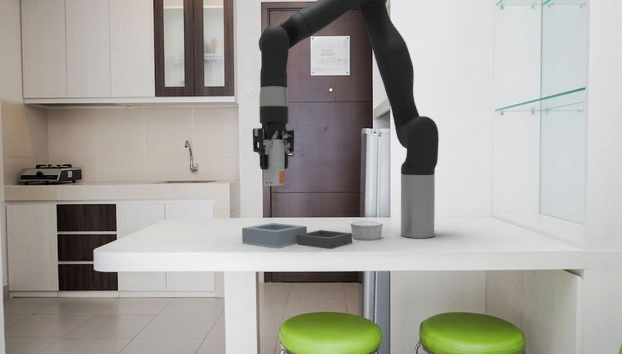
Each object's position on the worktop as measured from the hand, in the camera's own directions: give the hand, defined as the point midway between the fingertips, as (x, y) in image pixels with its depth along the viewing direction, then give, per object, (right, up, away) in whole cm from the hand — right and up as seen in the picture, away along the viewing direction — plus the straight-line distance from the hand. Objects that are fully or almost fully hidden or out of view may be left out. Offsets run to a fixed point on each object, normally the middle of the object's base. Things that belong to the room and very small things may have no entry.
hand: (274, 169), depth 133 cm
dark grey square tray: (+13, -19, -1) cm, 23 cm away
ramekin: (+25, -19, +7) cm, 32 cm away
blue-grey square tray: (0, -19, +1) cm, 19 cm away
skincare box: (0, -5, 0) cm, 5 cm away
